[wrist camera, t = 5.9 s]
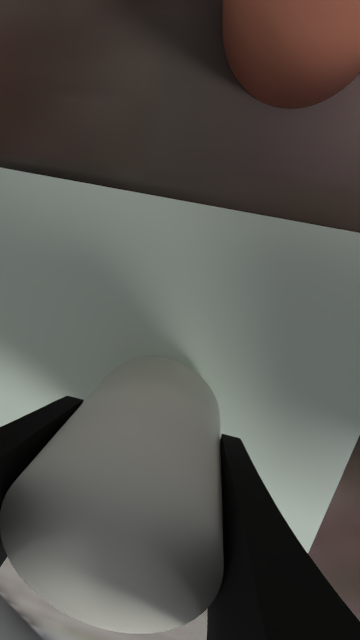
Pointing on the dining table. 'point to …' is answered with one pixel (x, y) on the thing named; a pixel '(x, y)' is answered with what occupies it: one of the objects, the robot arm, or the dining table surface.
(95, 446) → the off-white rounded cylinder
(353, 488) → the dining table surface
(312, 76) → the pink rounded piece
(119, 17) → the dining table surface
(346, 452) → the baseplate
